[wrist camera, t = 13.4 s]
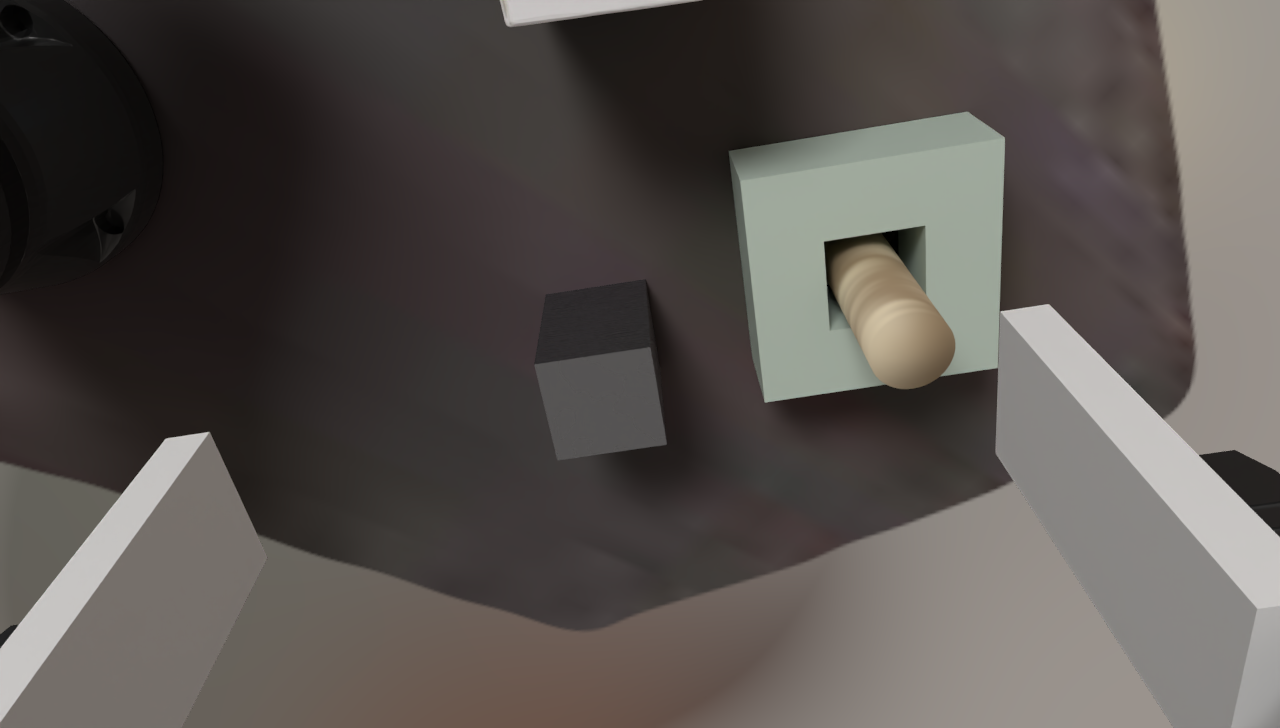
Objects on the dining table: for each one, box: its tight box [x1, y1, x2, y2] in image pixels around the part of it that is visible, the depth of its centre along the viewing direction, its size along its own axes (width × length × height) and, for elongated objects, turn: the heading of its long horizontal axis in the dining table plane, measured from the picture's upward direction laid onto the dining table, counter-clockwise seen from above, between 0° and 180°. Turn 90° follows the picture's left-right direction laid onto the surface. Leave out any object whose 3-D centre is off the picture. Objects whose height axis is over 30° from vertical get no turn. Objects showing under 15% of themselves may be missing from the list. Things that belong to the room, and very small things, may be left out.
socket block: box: [729, 112, 1005, 402], centre depth 46 cm, size 12×12×5 cm
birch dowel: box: [824, 233, 955, 389], centre depth 43 cm, size 4×4×12 cm
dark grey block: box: [534, 279, 667, 460], centre depth 47 cm, size 6×6×8 cm
